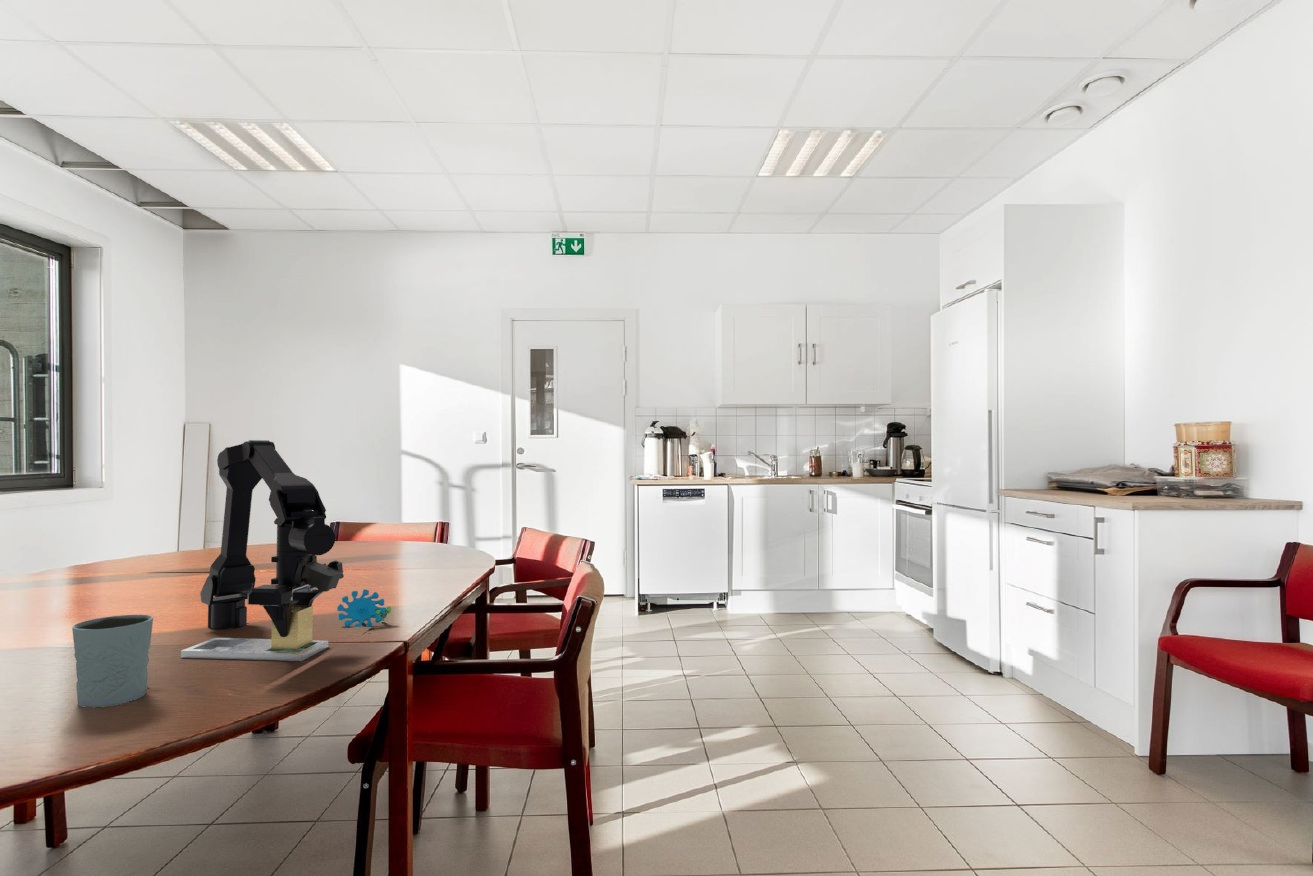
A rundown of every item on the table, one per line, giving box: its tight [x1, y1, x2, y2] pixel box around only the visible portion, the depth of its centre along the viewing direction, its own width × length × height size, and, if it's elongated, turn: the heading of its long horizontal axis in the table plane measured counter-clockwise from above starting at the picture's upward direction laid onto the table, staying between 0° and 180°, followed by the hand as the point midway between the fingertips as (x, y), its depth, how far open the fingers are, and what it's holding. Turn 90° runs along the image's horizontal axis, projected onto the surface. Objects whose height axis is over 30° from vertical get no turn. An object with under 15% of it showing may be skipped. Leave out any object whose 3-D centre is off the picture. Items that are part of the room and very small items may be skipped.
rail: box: [180, 637, 329, 662], centre depth 134 cm, size 23×9×2 cm, turn 86°
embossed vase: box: [72, 614, 154, 708], centre depth 111 cm, size 10×10×12 cm
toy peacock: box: [336, 588, 392, 628], centre depth 158 cm, size 11×6×10 cm
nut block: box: [270, 605, 314, 650], centre depth 133 cm, size 5×5×7 cm
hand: (292, 633), depth 133 cm, fingers closed on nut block, 5 cm apart
